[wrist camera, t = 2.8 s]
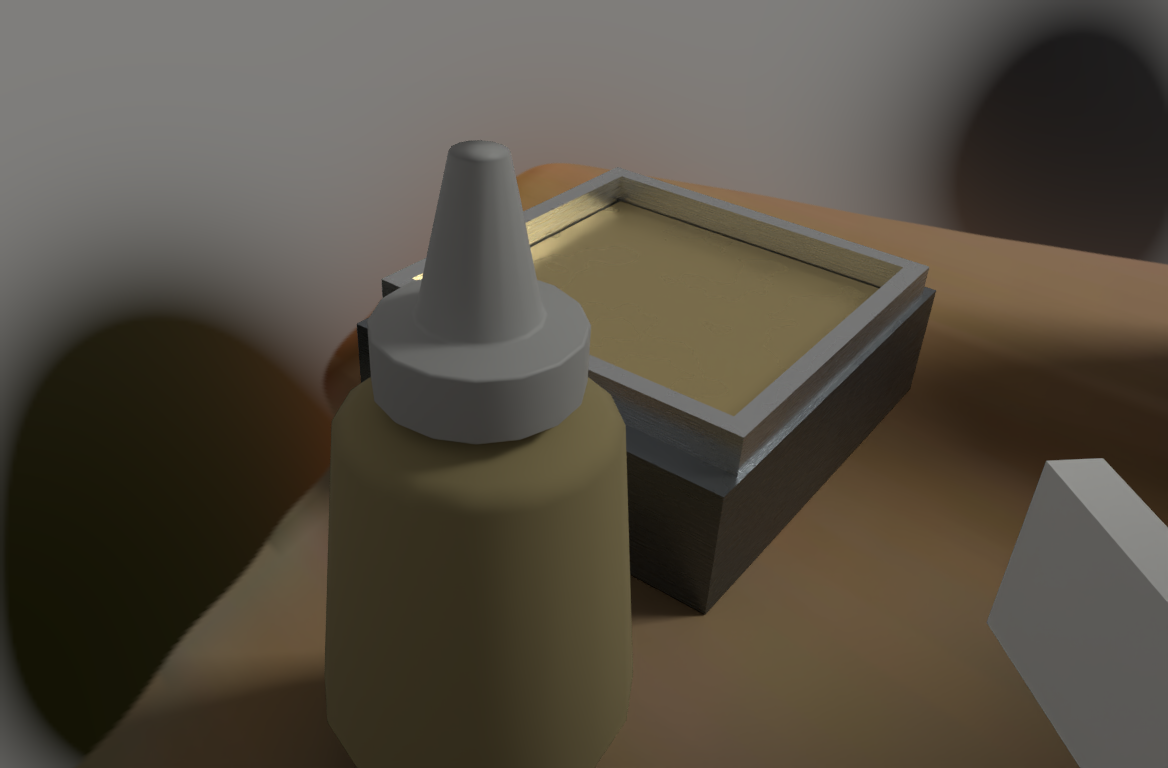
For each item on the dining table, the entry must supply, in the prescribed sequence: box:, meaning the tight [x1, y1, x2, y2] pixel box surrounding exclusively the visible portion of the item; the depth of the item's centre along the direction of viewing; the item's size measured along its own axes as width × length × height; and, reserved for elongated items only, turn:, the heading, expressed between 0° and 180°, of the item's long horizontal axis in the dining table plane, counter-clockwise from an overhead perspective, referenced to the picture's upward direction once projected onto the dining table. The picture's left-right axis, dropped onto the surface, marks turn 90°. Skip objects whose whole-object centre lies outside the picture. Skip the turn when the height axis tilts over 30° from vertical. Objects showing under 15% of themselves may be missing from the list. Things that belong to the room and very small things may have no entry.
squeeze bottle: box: [325, 140, 633, 768], centre depth 25 cm, size 8×8×18 cm
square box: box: [357, 167, 936, 614], centre depth 43 cm, size 18×16×6 cm
